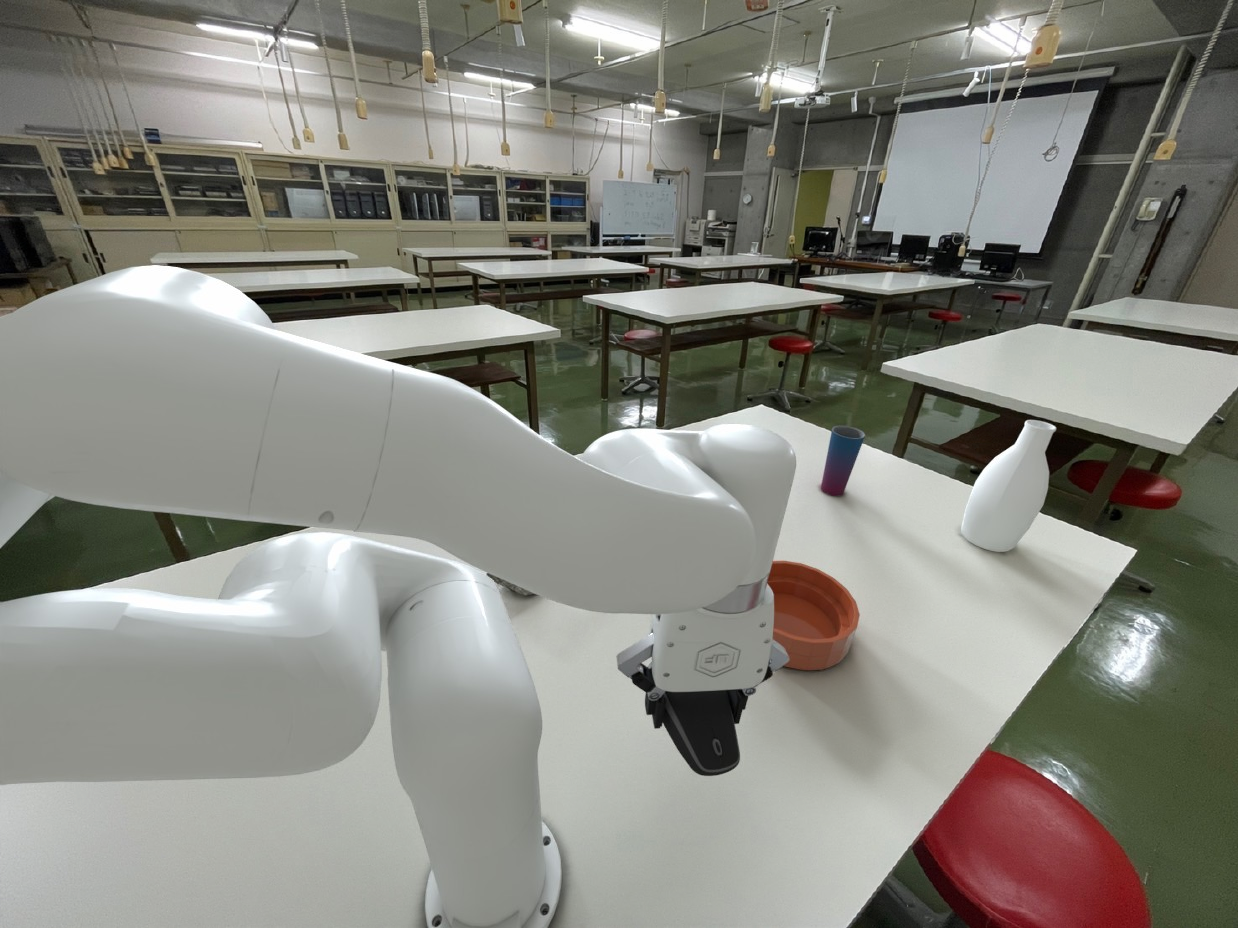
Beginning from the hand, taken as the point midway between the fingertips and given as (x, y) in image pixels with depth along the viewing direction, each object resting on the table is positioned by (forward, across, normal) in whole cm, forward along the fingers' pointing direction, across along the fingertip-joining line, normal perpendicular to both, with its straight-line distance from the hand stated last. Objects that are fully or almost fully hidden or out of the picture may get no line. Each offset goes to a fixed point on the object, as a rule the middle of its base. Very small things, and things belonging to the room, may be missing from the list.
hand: (693, 711), depth 49 cm
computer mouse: (+1, 0, 0) cm, 1 cm away
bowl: (+13, +23, +23) cm, 35 cm away
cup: (+13, +50, +63) cm, 82 cm away
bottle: (+12, +73, +43) cm, 86 cm away
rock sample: (+14, -19, +36) cm, 44 cm away
